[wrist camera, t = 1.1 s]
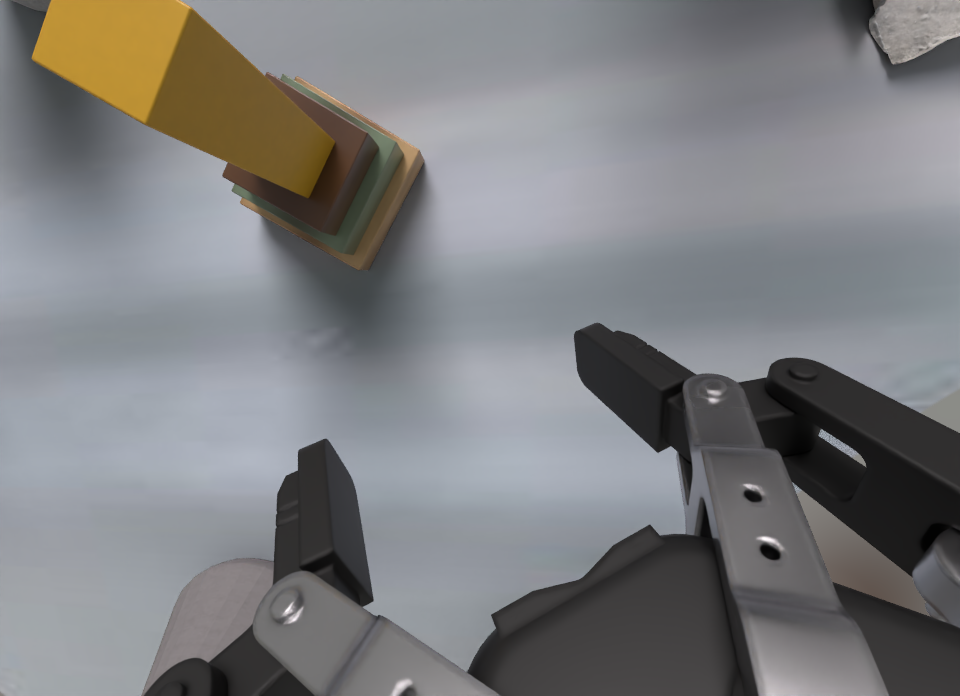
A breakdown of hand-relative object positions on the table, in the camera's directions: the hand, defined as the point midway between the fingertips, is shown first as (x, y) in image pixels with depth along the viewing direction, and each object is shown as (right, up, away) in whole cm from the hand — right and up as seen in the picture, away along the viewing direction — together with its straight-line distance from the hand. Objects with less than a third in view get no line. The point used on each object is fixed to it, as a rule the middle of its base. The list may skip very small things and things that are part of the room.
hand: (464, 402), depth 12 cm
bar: (-10, +12, +10) cm, 18 cm away
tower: (-10, +14, +17) cm, 24 cm away
